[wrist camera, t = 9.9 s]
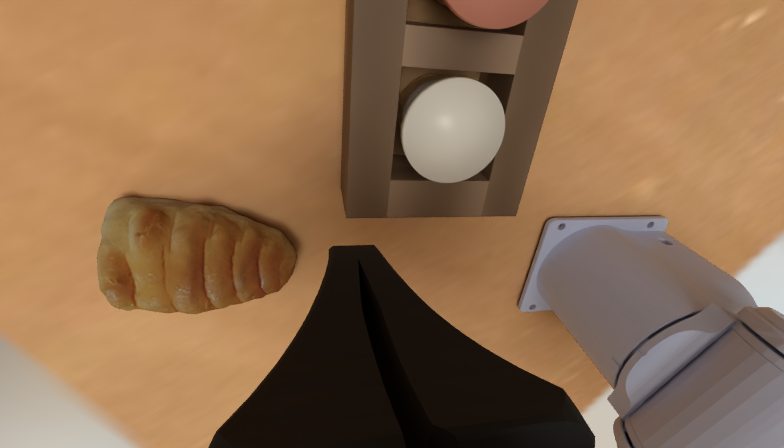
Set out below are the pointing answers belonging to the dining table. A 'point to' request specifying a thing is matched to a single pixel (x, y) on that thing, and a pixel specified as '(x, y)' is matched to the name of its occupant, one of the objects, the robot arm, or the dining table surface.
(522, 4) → the red plug
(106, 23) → the dining table surface
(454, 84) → the cream plug
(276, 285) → the pastry
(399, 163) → the plug block
